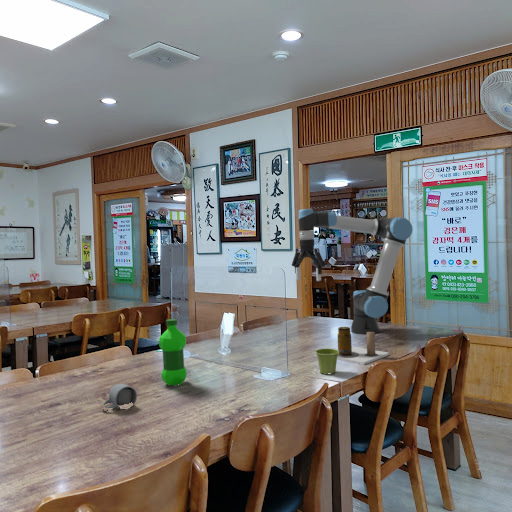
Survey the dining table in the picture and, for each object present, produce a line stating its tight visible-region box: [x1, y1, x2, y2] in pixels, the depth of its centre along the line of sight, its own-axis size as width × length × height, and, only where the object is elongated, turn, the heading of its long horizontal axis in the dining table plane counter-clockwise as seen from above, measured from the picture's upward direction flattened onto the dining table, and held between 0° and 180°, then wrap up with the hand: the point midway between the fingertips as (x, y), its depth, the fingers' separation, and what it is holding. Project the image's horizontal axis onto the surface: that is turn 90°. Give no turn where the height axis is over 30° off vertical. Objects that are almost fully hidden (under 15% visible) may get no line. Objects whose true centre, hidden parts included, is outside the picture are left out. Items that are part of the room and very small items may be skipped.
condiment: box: [337, 326, 358, 357], centre depth 211 cm, size 7×8×12 cm
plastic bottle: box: [158, 318, 188, 386], centre depth 182 cm, size 10×10×25 cm
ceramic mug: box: [101, 383, 138, 409], centre depth 159 cm, size 11×8×8 cm
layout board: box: [337, 332, 390, 365], centre depth 211 cm, size 20×18×11 cm
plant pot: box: [315, 348, 339, 375], centre depth 189 cm, size 9×9×9 cm
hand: (308, 280), depth 244 cm, fingers open, 13 cm apart
